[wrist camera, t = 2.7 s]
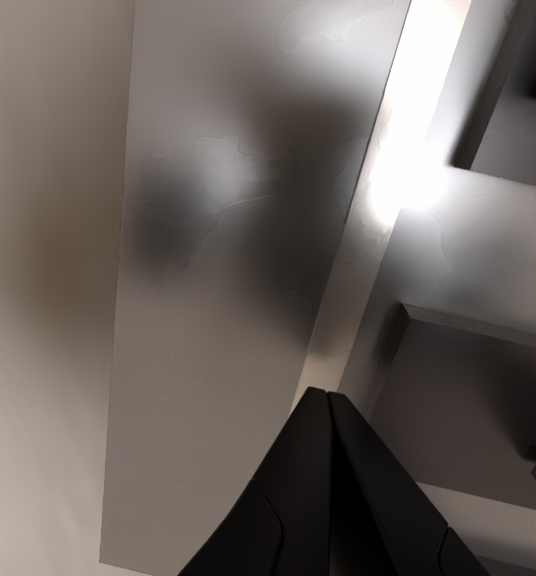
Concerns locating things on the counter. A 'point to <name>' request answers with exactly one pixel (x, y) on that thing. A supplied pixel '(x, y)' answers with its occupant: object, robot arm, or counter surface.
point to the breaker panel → (325, 258)
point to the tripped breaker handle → (534, 472)
